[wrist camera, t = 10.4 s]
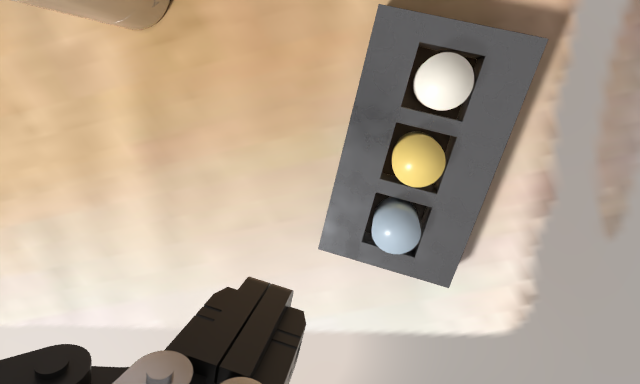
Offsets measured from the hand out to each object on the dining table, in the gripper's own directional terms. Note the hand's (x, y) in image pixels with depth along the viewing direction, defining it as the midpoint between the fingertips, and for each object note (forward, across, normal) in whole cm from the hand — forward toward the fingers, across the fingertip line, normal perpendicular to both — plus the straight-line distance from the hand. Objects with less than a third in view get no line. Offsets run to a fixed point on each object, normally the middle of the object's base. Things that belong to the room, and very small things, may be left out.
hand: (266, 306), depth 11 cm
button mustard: (+26, -6, -2) cm, 27 cm away
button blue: (+26, -6, +5) cm, 28 cm away
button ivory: (+26, -6, -9) cm, 29 cm away
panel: (+27, -6, -2) cm, 28 cm away
